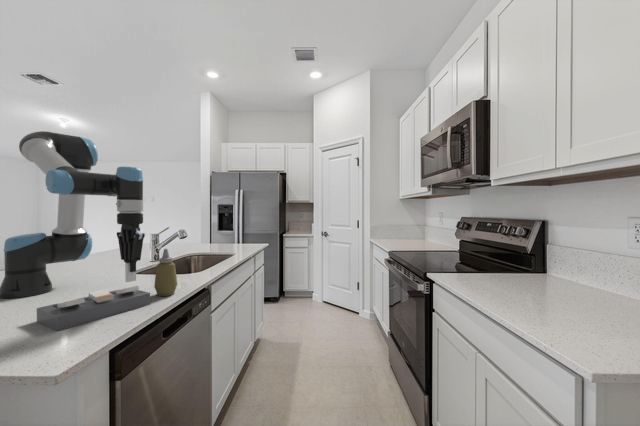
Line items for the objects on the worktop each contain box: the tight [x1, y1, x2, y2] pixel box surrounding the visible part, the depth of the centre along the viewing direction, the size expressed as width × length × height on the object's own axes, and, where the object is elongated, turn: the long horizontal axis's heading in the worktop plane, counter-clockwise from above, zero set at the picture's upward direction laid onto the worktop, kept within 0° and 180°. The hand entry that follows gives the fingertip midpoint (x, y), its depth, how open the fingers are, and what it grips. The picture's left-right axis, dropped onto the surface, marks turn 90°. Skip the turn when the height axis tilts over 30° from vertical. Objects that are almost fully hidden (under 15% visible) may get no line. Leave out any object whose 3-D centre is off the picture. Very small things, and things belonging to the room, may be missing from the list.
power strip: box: [36, 289, 151, 332], centre depth 98 cm, size 20×26×5 cm
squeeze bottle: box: [154, 248, 178, 297], centre depth 116 cm, size 8×8×18 cm
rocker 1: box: [56, 297, 85, 308], centre depth 88 cm, size 6×4×1 cm
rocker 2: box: [116, 285, 140, 294], centre depth 102 cm, size 6×4×1 cm
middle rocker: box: [88, 289, 114, 303], centre depth 95 cm, size 6×4×1 cm
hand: (130, 281), depth 101 cm, fingers closed
